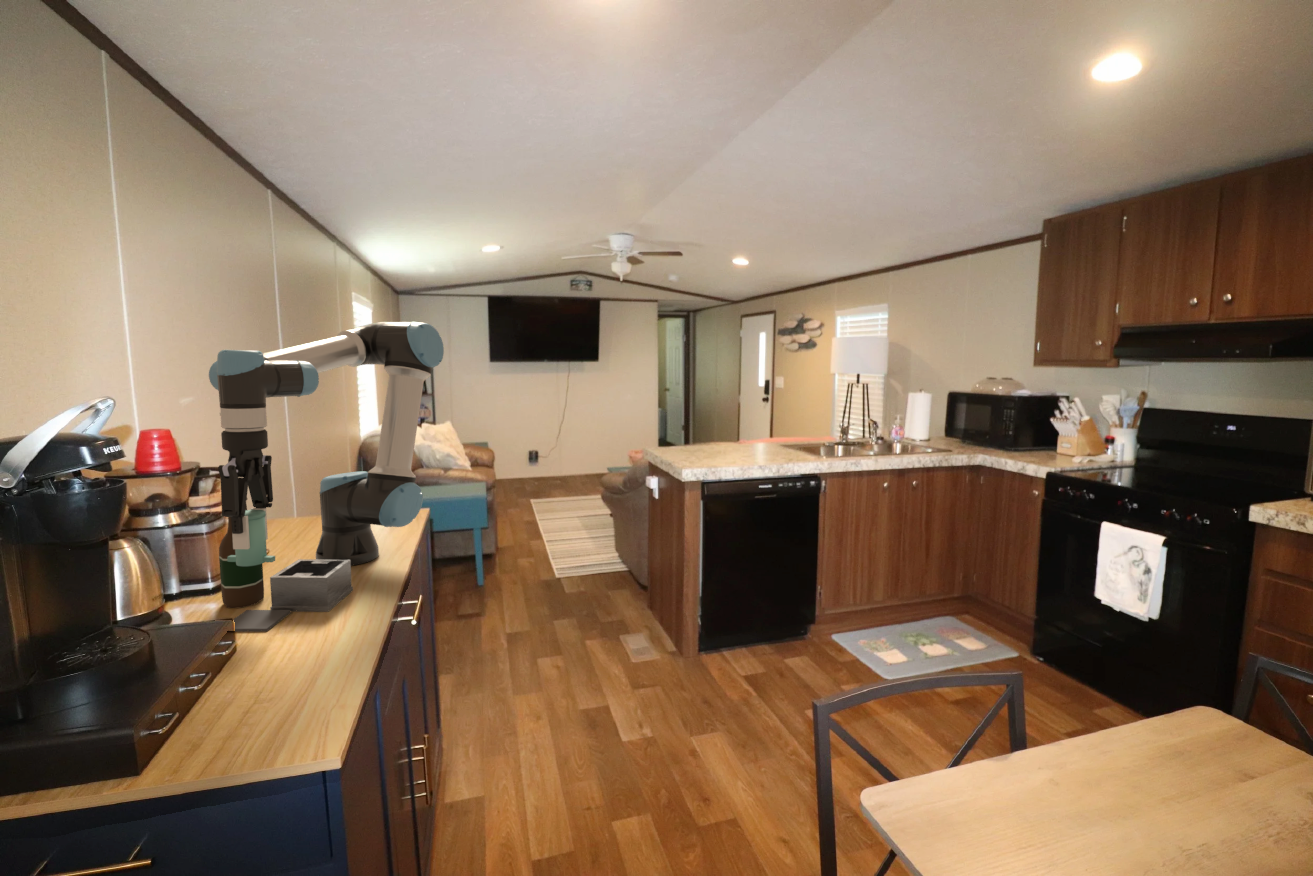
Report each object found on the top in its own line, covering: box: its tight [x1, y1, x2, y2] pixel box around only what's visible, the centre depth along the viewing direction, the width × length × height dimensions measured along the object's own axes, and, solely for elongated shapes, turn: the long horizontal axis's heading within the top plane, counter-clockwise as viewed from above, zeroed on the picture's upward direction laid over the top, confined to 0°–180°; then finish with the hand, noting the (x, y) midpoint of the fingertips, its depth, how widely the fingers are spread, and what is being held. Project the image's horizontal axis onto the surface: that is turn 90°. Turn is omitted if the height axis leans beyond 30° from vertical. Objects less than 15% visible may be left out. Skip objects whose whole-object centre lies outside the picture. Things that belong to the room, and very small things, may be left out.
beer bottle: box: [218, 504, 265, 609], centre depth 133 cm, size 8×8×24 cm
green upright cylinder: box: [227, 509, 276, 566], centre depth 122 cm, size 9×6×10 cm, turn 93°
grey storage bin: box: [269, 558, 354, 613], centre depth 135 cm, size 12×12×8 cm
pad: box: [233, 609, 292, 633], centre depth 125 cm, size 9×9×1 cm
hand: (251, 543), depth 122 cm, fingers closed on green upright cylinder, 5 cm apart
